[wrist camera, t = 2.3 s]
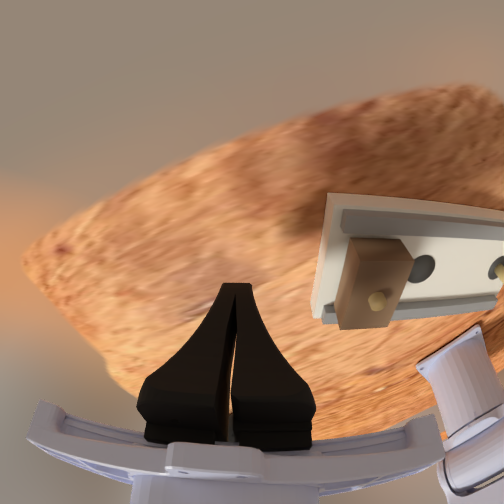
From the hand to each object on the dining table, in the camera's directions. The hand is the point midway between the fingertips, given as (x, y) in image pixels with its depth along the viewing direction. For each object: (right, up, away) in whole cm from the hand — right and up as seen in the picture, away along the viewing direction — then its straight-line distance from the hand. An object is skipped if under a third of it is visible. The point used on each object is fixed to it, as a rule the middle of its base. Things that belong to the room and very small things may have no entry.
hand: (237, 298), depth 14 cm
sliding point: (+7, +1, +2) cm, 7 cm away
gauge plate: (+14, +2, +3) cm, 14 cm away
